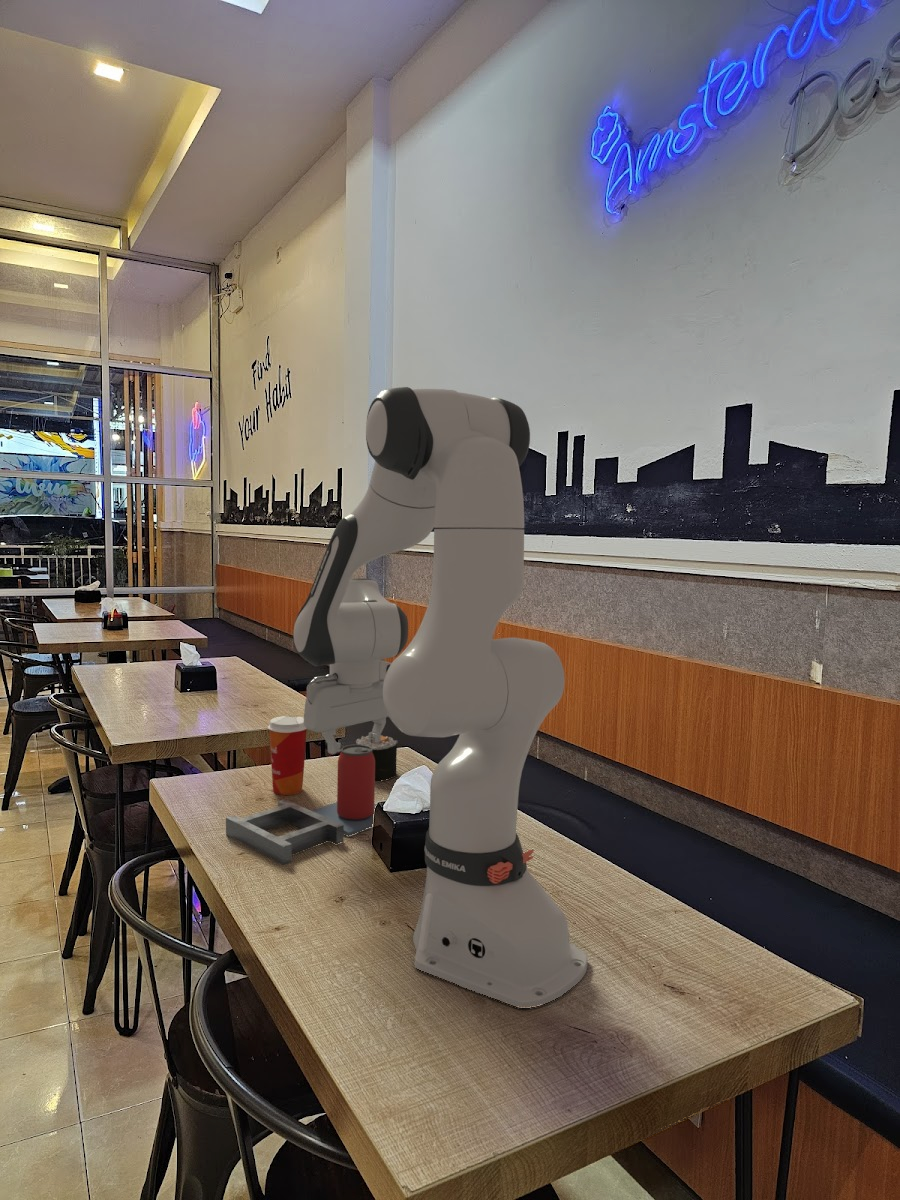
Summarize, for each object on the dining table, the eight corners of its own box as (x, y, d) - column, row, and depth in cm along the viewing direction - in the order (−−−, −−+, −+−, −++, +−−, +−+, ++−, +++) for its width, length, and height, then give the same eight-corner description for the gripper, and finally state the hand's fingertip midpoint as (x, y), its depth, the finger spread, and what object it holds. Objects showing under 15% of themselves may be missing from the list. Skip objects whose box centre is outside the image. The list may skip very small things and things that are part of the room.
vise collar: (343, 842, 128) (343, 825, 128) (283, 865, 119) (283, 846, 119) (284, 815, 139) (285, 799, 138) (225, 834, 130) (225, 817, 130)
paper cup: (273, 782, 155) (273, 714, 154) (311, 784, 155) (312, 715, 154) (262, 796, 148) (262, 724, 146) (302, 798, 147) (303, 726, 146)
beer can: (373, 821, 135) (374, 755, 134) (335, 821, 135) (336, 754, 133) (374, 807, 142) (376, 743, 140) (338, 807, 141) (339, 743, 140)
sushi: (372, 765, 167) (372, 729, 167) (403, 773, 163) (404, 736, 162) (347, 775, 161) (348, 738, 160) (379, 784, 156) (380, 745, 155)
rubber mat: (399, 817, 139) (399, 813, 139) (348, 837, 130) (348, 832, 130) (355, 800, 147) (355, 796, 147) (304, 817, 138) (304, 812, 138)
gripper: (319, 680, 126) (319, 764, 127) (408, 665, 141) (407, 740, 142) (295, 675, 130) (295, 756, 131) (384, 661, 145) (384, 733, 146)
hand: (354, 747), depth 137 cm, fingers open, 8 cm apart
